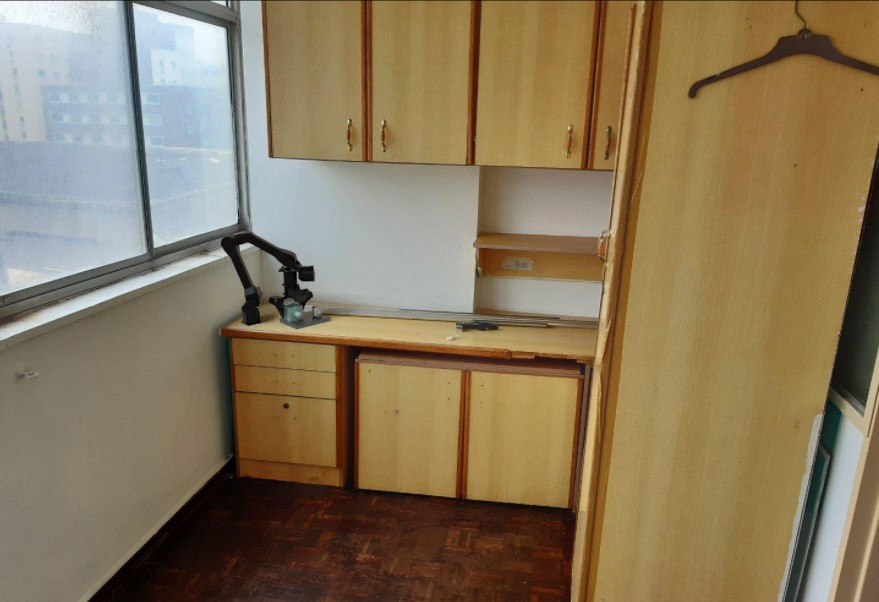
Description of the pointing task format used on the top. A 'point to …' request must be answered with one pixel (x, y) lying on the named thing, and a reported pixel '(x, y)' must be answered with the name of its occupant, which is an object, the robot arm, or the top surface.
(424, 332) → the top surface
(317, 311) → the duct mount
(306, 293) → the robot arm
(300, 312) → the duct collar
